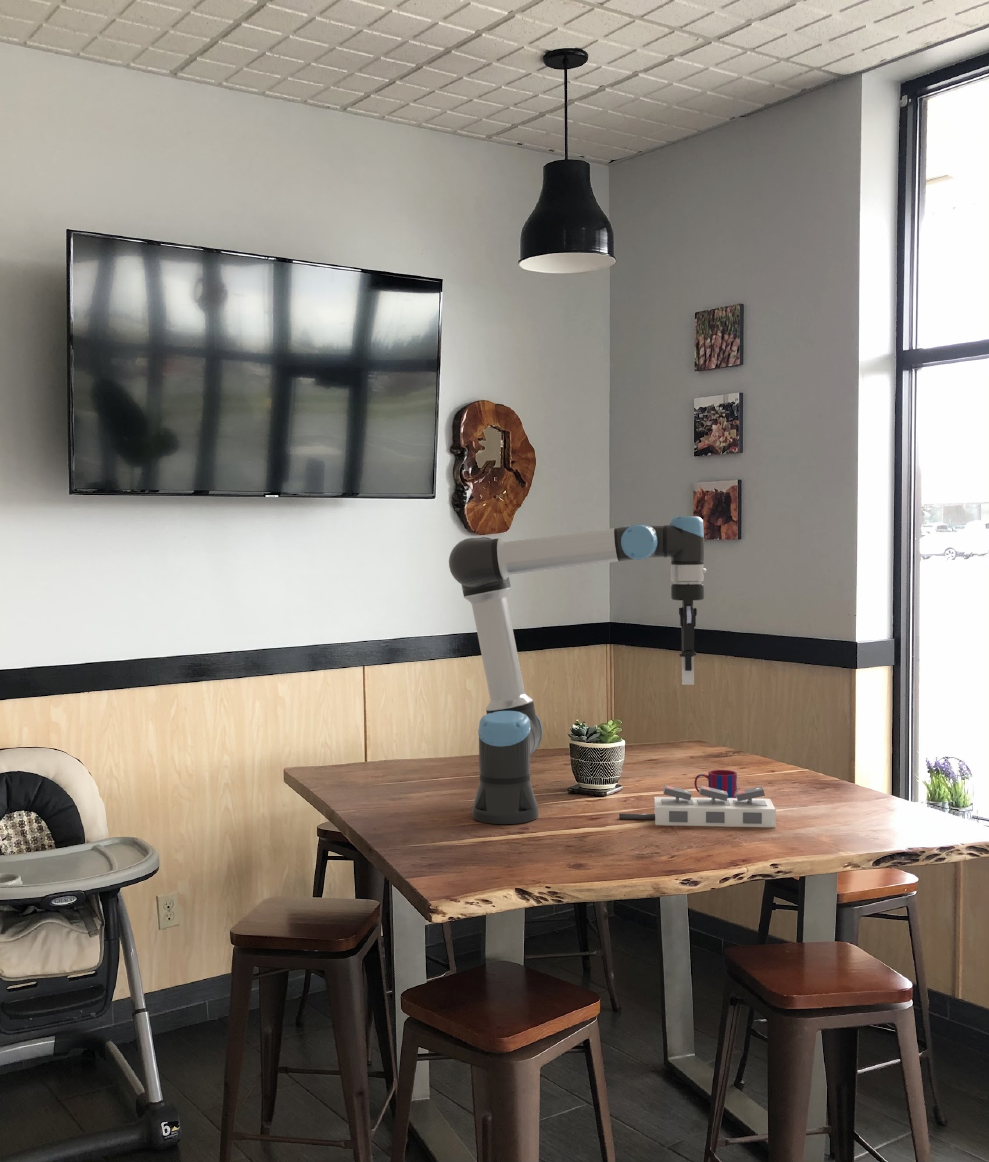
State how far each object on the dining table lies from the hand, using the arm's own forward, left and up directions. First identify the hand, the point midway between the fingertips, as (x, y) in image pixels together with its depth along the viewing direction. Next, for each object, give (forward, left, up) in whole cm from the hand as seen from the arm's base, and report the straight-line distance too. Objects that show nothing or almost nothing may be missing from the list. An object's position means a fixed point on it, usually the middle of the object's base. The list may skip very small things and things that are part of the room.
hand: (688, 684), depth 261 cm
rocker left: (-3, -10, -23) cm, 25 cm away
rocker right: (+13, -10, -23) cm, 28 cm away
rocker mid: (+5, -10, -23) cm, 26 cm away
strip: (+1, -10, -29) cm, 31 cm away
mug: (+7, +10, -30) cm, 32 cm away
